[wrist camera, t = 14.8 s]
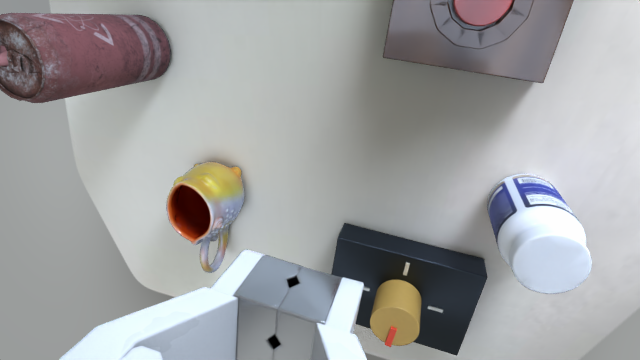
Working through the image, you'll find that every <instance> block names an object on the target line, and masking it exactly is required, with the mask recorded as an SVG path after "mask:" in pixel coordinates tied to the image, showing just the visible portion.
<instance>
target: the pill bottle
mask: <svg viewBox="0 0 640 360" xmlns="http://www.w3.org/2000/svg"><path fill="white" fill-rule="evenodd" d="M487 209H488V214H489V217H490V220H491V224H492V228H493V231H494V235H495V238H496V242H497V245H498V249H499V251H500V254H501V256H502V257H503V259H504V260H505V261H506V263H507V264H508V265H510V266H511V268H512V271H513V273H514V275H515V277H516V278H517V280H518V281H519V282H520V283H521V284H522V285H524V286H525V287H527V288H528V289H530V290H533V291H535V292H539V293H545V294H557V293H563V292H567V291H569V290H572V289H574V288H576V287H577V286H579V285H580V284H581V283H582V282H583V281H584V280H585V279H586V278H587V277H588V275H589V273H590V270H591V266H592V261H591V256H590V253H589V251H588V249H587V248H586V235H585V232H584V229H583V227H582V225H581V223H580V222H579V221H578V219H577V218H576V217H575V215H574V214H573V212H572V211H571V210H570V208H569V207H568V205H567V204H566V202H565V201H564V200H563V198H562V197H561V196H560V194H559V193H558V191H557V190H556V189H555V188H554V186H553V185H552V184H551V183H550V182H548V181H547V180H546V179H544V178H542V177H539V176H537V175H532V174H517V175H513V176H510V177H507V178H505V179H503V180H502V181H500V182H499V183H498V184H497V185H496V186H495V187H494V188H493V189H492V191H491V192H490V194H489V197H488V201H487Z"/></svg>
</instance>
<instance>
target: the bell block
mask: <svg viewBox="0 0 640 360" xmlns="http://www.w3.org/2000/svg"><path fill="white" fill-rule="evenodd" d="M573 1H574V0H513V1H512V4H511V6H510V8H509V9H508V11H507V12H506V13H505V14H504V15H503V16H502V17H501V18H500V19H499V20H497V21H495V22H494V23H492V24H489V25H485V26H473V25H469V24H466V23H464V22H463V21H461V20H460V19H459V18H458V16H457V15H456V13H455V10H454V7H453V0H393V5H392V10H391V15H390V21H389V26H388V32H387V37H386V42H385V48H384V53H383V57H384V58H389V59H396V60H402V61H408V62H414V63H420V64H427V65H433V66H439V67H445V68H451V69H457V70H464V71H470V72H476V73H482V74H488V75H494V76H501V77H507V78H513V79H519V80H525V81H532V82H538V83H543V82H544V80H545V77H546V74H547V72H548V69H549V66H550V63H551V61H552V58H553V55H554V53H555V50H556V47H557V44H558V42H559V39H560V36H561V33H562V31H563V28H564V25H565V22H566V20H567V17H568V14H569V12H570V9H571V6H572V3H573Z"/></svg>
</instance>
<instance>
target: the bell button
mask: <svg viewBox="0 0 640 360" xmlns="http://www.w3.org/2000/svg"><path fill="white" fill-rule="evenodd" d="M512 1H513V0H453V7H454V10H455V13H456V15H457V16H458V18H459V19H460V20H461V21H463V22H464V23H466V24H469V25H473V26H485V25H489V24H492V23H494V22H495V21H497V20H499V19H500V18H501V17H502V16H503V15H504V14H505V13H506V12H507V11H508V9H509V8H510V6H511V4H512Z"/></svg>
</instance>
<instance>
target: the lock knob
mask: <svg viewBox="0 0 640 360" xmlns="http://www.w3.org/2000/svg"><path fill="white" fill-rule="evenodd" d="M420 316H421V296H420V293H419V292H418V290H417V289H416V288H415V287H414V286H413V285H411V284H410V283H408V282H406V281H402V280H389V281H386V282H384V283H383V284H381V285H380V286H379V288H378V289H377V292H376V297H375V301H374V305H373V310H372V314H371V318H370V326H371V329H372V331H373V333H374V334H375V335H376V336H377V337H378V338H379V339H380V340H382V341H383V342H385V345H386V346H389V347H391V345H396V346H402V345H407V344H410V343H412V342H413V341H414V340H415V339H416V338H417V337H418V335H419V331H420Z"/></svg>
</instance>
